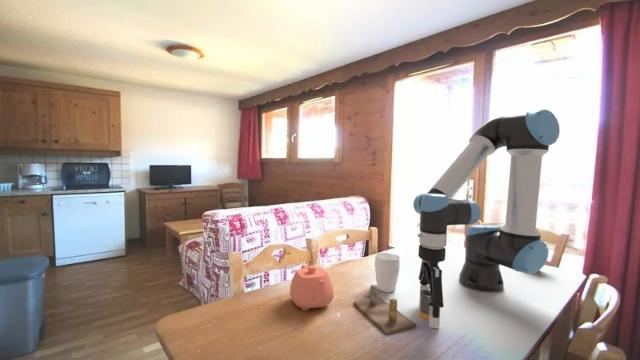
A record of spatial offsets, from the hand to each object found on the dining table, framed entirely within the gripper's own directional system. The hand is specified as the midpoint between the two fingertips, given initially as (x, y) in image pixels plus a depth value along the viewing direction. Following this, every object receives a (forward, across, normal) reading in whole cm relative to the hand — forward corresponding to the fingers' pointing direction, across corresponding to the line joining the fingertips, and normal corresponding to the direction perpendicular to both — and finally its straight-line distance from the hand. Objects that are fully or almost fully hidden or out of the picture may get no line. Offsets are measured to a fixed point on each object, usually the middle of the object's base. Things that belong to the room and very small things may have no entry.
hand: (428, 315), depth 90 cm
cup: (0, -18, -11) cm, 21 cm away
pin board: (0, +2, -14) cm, 14 cm away
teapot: (+1, -1, -36) cm, 36 cm away
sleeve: (0, 0, 0) cm, 0 cm away
